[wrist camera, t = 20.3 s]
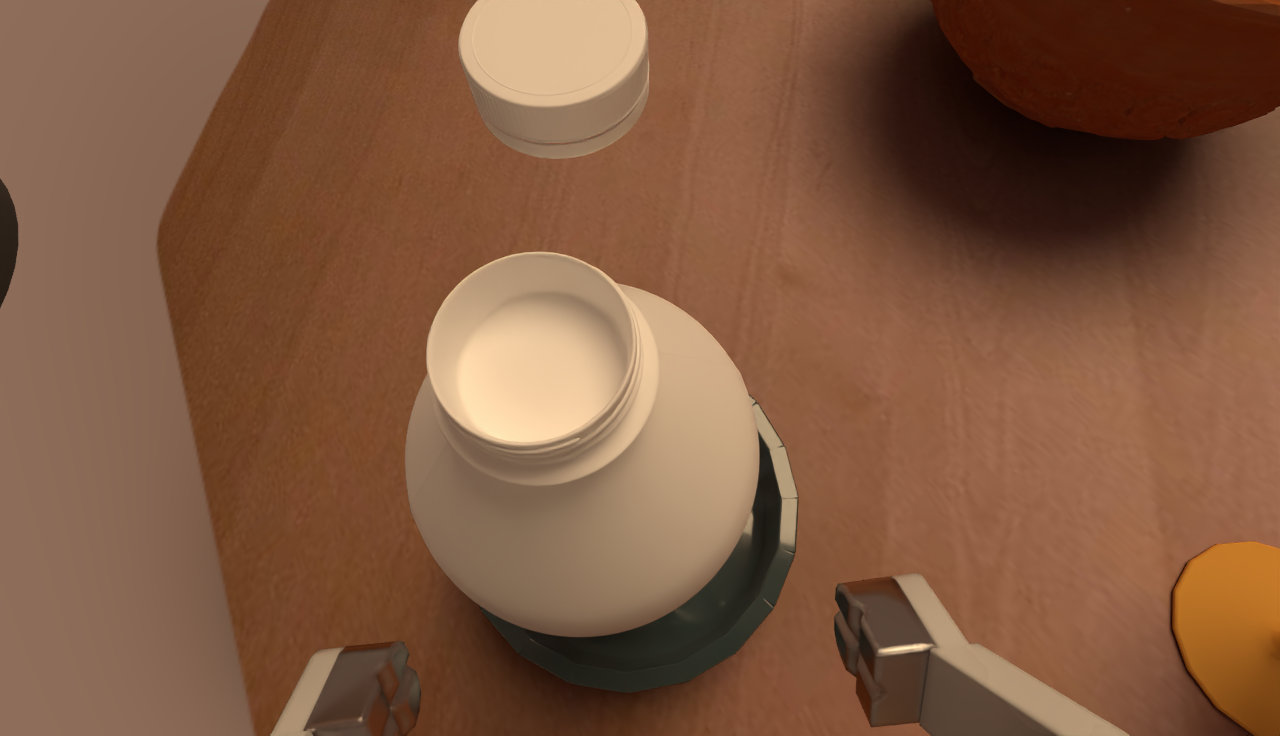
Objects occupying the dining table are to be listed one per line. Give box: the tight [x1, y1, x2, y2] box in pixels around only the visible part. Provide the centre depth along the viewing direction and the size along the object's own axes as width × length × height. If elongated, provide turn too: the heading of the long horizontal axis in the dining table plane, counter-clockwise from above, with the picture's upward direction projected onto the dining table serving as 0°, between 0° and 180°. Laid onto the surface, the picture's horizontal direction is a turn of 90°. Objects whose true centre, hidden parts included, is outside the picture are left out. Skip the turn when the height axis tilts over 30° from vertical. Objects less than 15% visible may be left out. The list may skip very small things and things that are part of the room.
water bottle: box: [405, 0, 759, 637], centre depth 18 cm, size 9×6×25 cm
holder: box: [479, 394, 799, 693], centre depth 29 cm, size 15×15×5 cm
